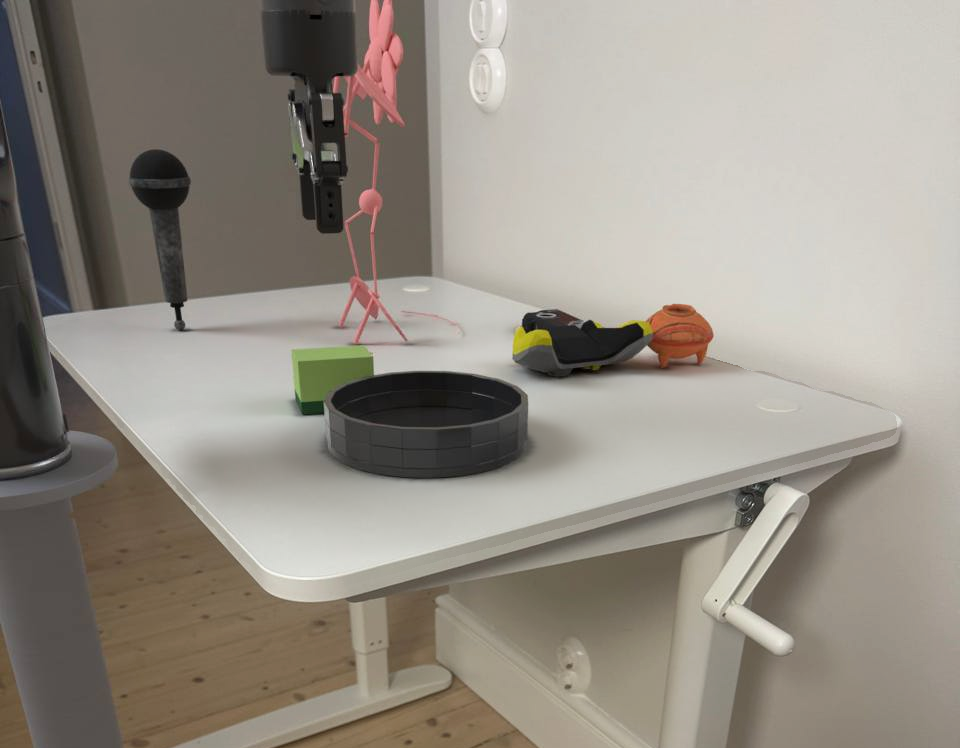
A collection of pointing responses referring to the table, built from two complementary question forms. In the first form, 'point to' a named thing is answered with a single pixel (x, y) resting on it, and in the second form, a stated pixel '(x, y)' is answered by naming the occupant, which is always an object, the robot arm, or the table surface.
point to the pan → (426, 423)
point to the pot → (679, 333)
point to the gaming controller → (579, 346)
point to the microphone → (164, 217)
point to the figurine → (382, 89)
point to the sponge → (326, 373)
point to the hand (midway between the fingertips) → (322, 225)
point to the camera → (549, 319)
